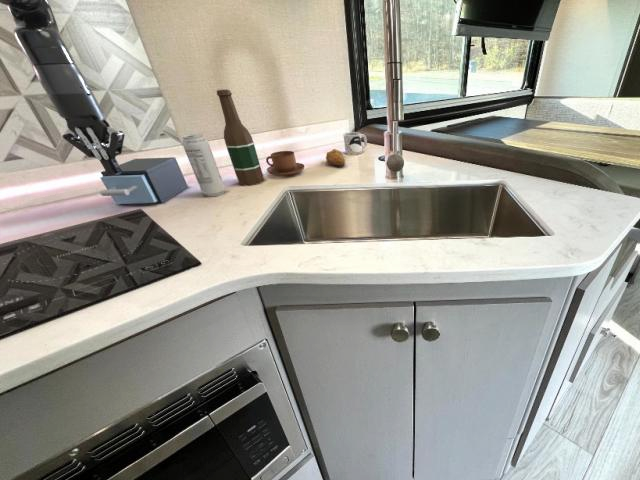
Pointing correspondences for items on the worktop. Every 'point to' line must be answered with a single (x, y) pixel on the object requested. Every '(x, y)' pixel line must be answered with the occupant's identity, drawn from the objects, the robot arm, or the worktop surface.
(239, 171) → the beer bottle
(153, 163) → the blue drawer box
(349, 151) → the mug
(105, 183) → the light blue drawer
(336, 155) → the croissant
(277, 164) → the cup and saucer
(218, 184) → the energy drink can
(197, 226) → the worktop surface
